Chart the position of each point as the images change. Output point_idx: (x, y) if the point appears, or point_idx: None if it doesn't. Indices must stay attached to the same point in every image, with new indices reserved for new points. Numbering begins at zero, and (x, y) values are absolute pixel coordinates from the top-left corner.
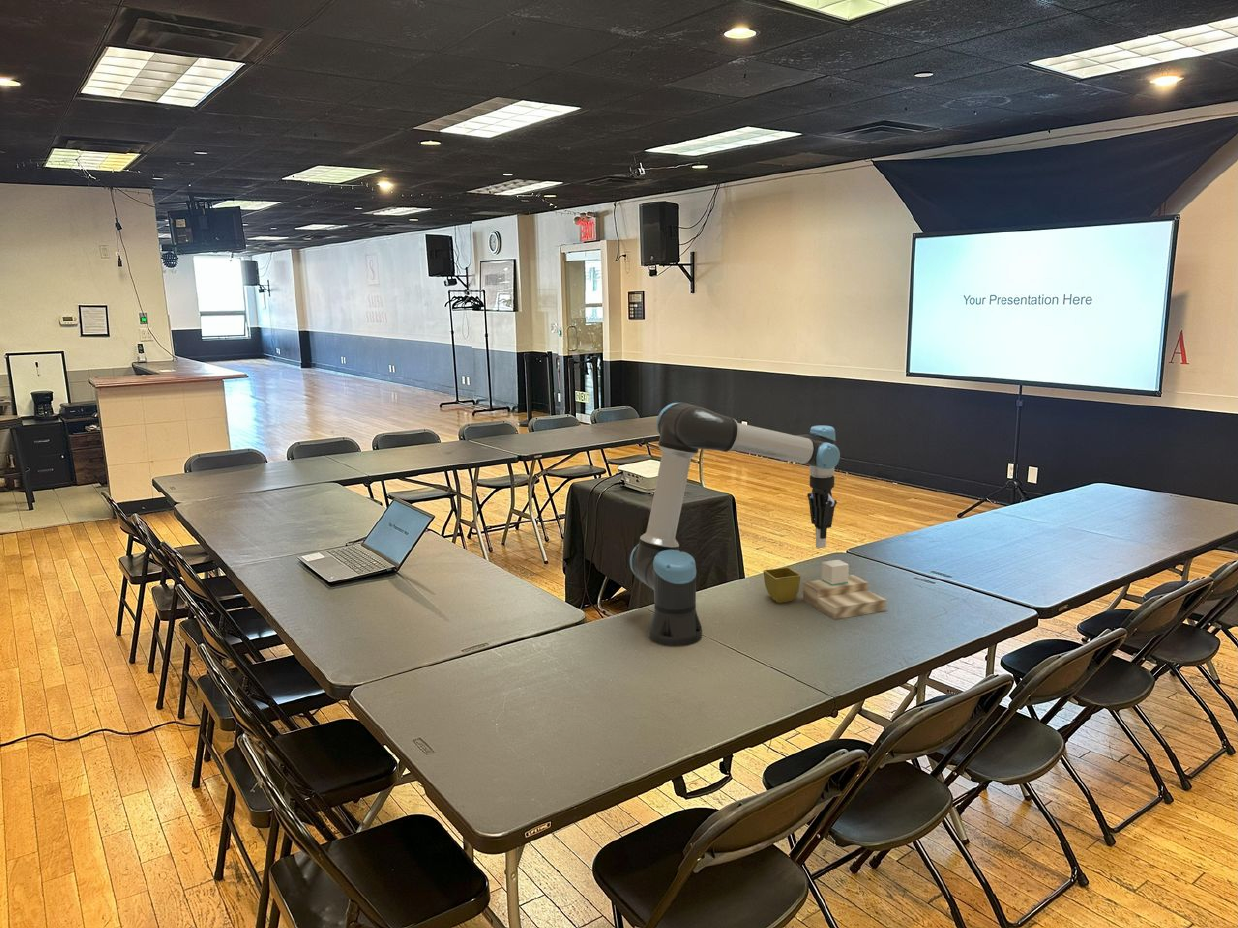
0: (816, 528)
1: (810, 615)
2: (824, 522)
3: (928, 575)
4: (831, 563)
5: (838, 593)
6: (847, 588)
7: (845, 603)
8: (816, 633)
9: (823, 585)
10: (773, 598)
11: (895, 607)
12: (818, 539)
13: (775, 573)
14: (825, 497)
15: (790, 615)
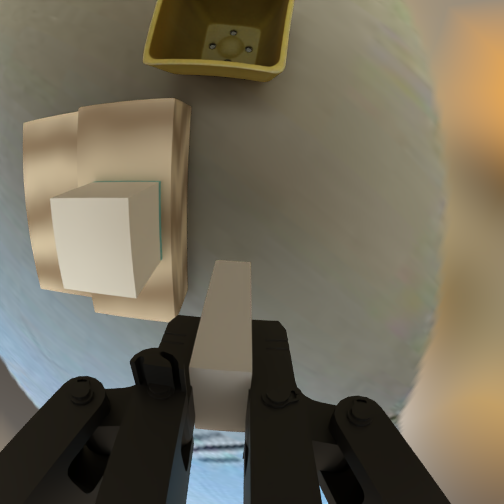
0: (244, 366)
1: (85, 71)
2: (42, 433)
3: (222, 450)
4: (91, 228)
5: None
6: None
7: (36, 169)
8: (17, 49)
9: (108, 153)
10: (233, 18)
11: (70, 306)
12: (208, 294)
13: (282, 19)
14: None
15: (112, 21)
